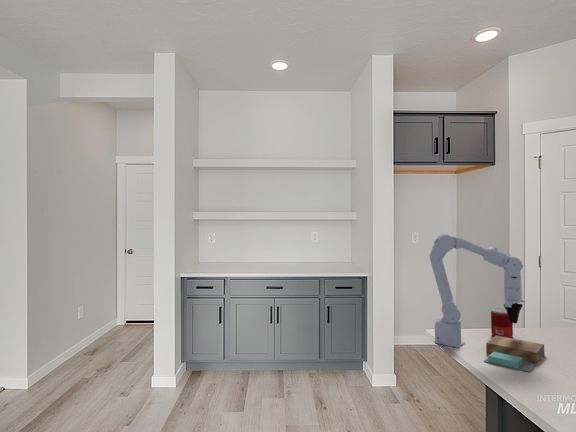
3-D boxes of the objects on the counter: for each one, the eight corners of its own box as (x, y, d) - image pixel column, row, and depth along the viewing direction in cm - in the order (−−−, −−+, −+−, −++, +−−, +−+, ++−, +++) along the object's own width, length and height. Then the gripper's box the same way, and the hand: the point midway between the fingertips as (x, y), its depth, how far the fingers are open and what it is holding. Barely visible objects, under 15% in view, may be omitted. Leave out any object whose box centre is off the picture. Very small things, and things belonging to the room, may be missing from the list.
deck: (486, 353, 140) (486, 342, 140) (496, 345, 149) (496, 335, 149) (536, 364, 129) (536, 352, 129) (544, 355, 137) (544, 344, 137)
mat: (483, 361, 132) (483, 361, 132) (491, 355, 138) (491, 354, 138) (530, 372, 122) (530, 371, 122) (536, 364, 129) (536, 364, 129)
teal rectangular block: (494, 351, 136) (494, 357, 136) (488, 355, 131) (488, 361, 131) (522, 357, 129) (522, 363, 129) (517, 362, 125) (517, 368, 125)
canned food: (516, 338, 157) (516, 312, 157) (497, 339, 157) (496, 312, 157) (506, 333, 164) (505, 308, 165) (488, 333, 165) (487, 308, 165)
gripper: (519, 291, 138) (520, 328, 137) (529, 286, 148) (530, 320, 148) (498, 289, 143) (499, 325, 142) (509, 284, 153) (510, 317, 153)
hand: (513, 322), depth 145 cm, fingers closed
